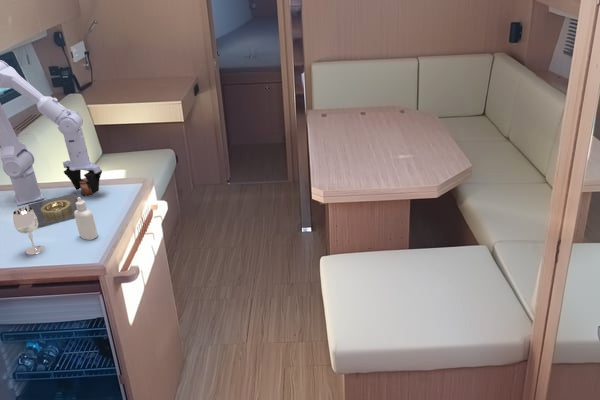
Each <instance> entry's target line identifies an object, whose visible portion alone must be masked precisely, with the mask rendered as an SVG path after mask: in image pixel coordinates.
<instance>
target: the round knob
mask: <svg viewBox="0 0 600 400" xmlns="http://www.w3.org/2000/svg"><path fill="white" fill-rule="evenodd" d="M79 183H80V186H81V188H80V190H81V194H82V197H92V196H93V195H94V194H95V193H93V192H92V190H91V187H90V184H89V182H88V180H87V179H86V177H84V178H81V180H79Z"/></svg>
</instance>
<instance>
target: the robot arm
mask: <svg viewBox="0 0 600 400" xmlns="http://www.w3.org/2000/svg"><path fill="white" fill-rule="evenodd" d="M0 89H12V90H15V91H16V92H17V93H19V94H20V95H22V96H23V97H24V98H26V99H27V100H29V101H31V102H32V103H33V104H35V105H36V108H37V111H38V112H39V113H41V114H42V115H43V116H45V117H46V118H47V119H49V120H50V121H51V122H53V123H54V124H55V125H56V126H57V129H58V131H59V132H60V133H61V134H62V135H63V139H64V142H65V146H66V149H67V154H68V158H69V160H65V161H62V164H63V169H65V170H63V174H64V175H65V176H66V177H67V178H68V179H69V180H70V181H71V183H72V185H73V187H74V189H75V190H76V191H78V190H81V186H80V183H79V180H81V179H82V177H81V176H82V175H81V173H82V172H81V171H85V172H87V173H85V174H83V177H84V178H86V179H87V180H88V182H89V184H90V187H91V190H92V192H93V193H94V194H96V193H97V192H99V191H100V180H101V175H102V173H103V170H102V169H101V167H100V165H97V164H95V163H93V162H92V161H91V160H90V156H89V152H88V148H87V145H86V141H85V136H84V132H83V128H82V126H83V121H84V120H83V118H82V116H81V115H80V114H79V112H77V111H75V110H74V111H73V110H71V109H70V108H67V107H65V106H64V105H62V104H61V103H60V102H58V101H59V100H58V99H57V98H56V97H52V96H51V95H50V96H45V95H44V94H42V93H41V92H40V91H38V90H37V89H36V88H35V87H34V86H33V85H32V84H30V83H29V82H28V81H27V80H26V79H25V78H23V77H22V76H21V75H20V74H19V73H18V72H17V71H16V69H15V68H14V67H12V66H10V65H9V64H8V63H7V62H5V60H1V59H0ZM0 148H1V152H0V159H1V162H2V171H3V172H4V173H5V175H7V176H9V179H10V183H11V185H12V188H13V191H14V199H15V202H16V205H17V206H21V205H25V204H31V203H33V202H34V203H35V202H39V201H43V199H45V198H44V196H43V193H42V190H41V188H40V187H39V183H38V181H37V180H38V179H37V176H36V172H35V169H34V167H33V165H34V163H35V156H34V154H33V153H32V152H31V151H30V150H28V148H27V147H26V144H24V143H22V142H20V141H19V139H18V137H17V134H16V132H15V131H14V128H13V126H12V124H11V121H10V120H9V118H8V116H7V114H6V111H5V109H4V107H3V106H2V103H1V102H0Z"/></svg>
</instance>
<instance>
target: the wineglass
mask: <svg viewBox="0 0 600 400" xmlns="http://www.w3.org/2000/svg"><path fill="white" fill-rule="evenodd" d="M12 220H13V225H14V228H15V229H16V231H17V232H19V233H20V234H28V238H29V240H30V241H31V246H32V247H30V248H28V249H27V250H26V251H25V253H26V255H30V256H31V255H38V254H40V253H41V252H43V251H44V250H45V248H44V246H42V245H35V243H34V239H33V237H34V236H33V232H36V230H37V229H38V228H37V227H38V225H39V222H38V218H37V215H36V214H35V212H34V210H33V209H32V208H31V207H29V206H22V207H20V208H17V209H15V210H14V211H13V212H12Z"/></svg>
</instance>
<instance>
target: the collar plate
mask: <svg viewBox="0 0 600 400" xmlns="http://www.w3.org/2000/svg"><path fill="white" fill-rule="evenodd" d="M76 202H78V197H77V195H76V194H75V193H74V192H73V193H68V194H66V195H61V196H57V197H53V198H49V199H46V200H40V201H36V202H34V203H33V202H32V203H28V205H27V207H31V208H32V209H33V210H34V212H35V214H36V215H37V218H38V222H39V225H38V227H37V229H39V228H40V229H41V228H44V227H47V226H50V225H54V224H58V223H61V222H65V221H70V220H73V219H75V216H74V212H75V211H76V210H77V207H76Z"/></svg>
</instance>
